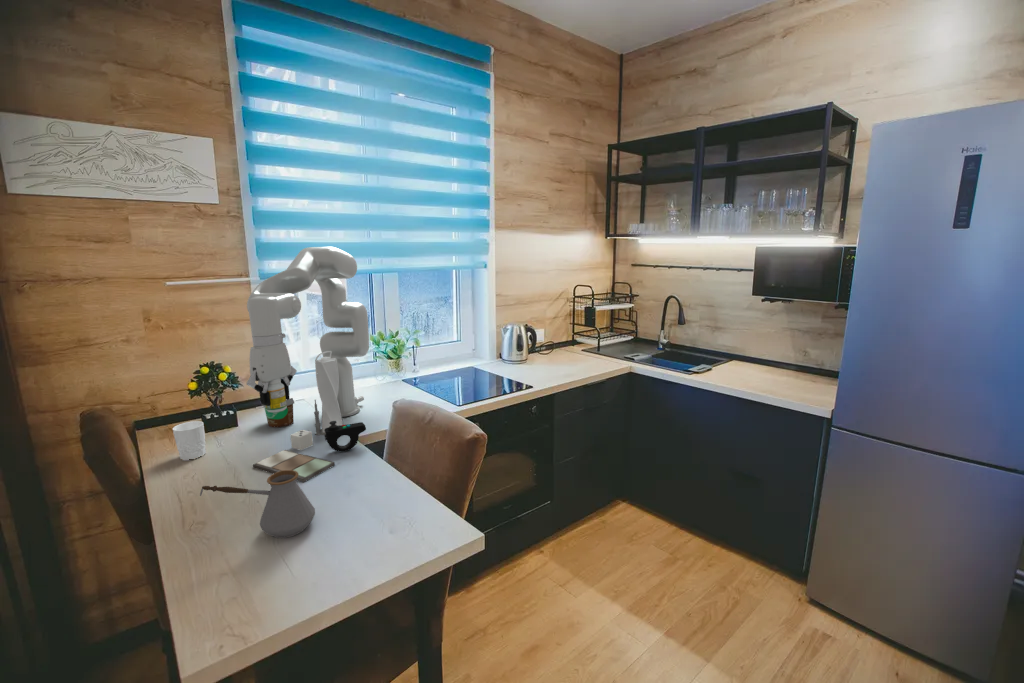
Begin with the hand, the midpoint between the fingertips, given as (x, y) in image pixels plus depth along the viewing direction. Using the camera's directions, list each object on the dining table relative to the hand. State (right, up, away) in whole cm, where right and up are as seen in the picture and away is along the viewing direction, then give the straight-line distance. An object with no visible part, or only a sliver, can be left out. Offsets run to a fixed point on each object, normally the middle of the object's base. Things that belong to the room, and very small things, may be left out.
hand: (275, 401), depth 136 cm
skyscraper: (+5, -14, +29) cm, 33 cm away
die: (+1, -17, +16) cm, 23 cm away
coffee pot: (+13, -26, -30) cm, 42 cm away
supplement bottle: (0, -3, +1) cm, 3 cm away
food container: (-17, -13, +34) cm, 41 cm away
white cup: (-31, -19, +11) cm, 38 cm away
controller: (+16, -17, +13) cm, 27 cm away
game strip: (+4, -19, +2) cm, 20 cm away
